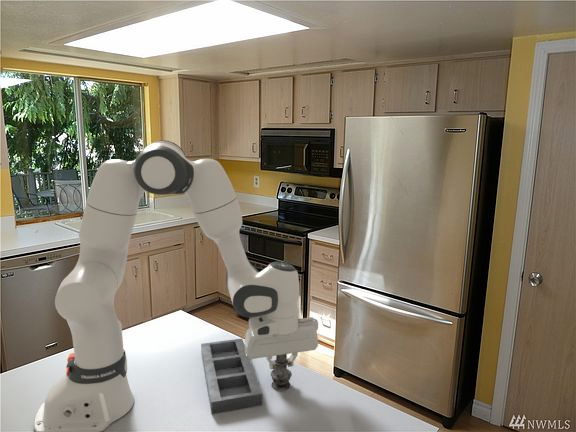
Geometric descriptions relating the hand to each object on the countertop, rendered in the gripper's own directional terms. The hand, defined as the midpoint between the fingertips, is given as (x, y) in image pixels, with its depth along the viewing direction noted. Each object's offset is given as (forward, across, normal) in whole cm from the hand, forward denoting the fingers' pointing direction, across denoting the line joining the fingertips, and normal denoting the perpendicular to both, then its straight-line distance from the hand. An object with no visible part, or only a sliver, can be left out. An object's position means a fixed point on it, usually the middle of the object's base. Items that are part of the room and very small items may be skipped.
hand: (281, 366), depth 116 cm
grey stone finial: (+6, 0, 0) cm, 6 cm away
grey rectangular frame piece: (+6, +14, -7) cm, 16 cm away
